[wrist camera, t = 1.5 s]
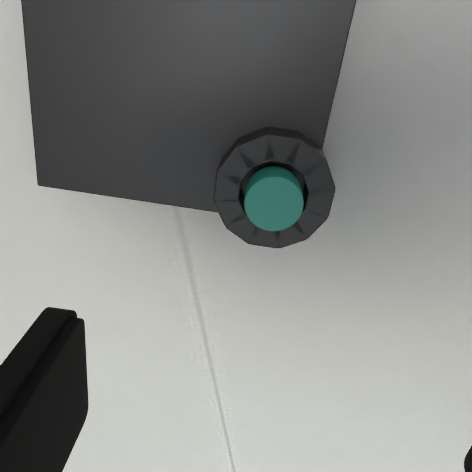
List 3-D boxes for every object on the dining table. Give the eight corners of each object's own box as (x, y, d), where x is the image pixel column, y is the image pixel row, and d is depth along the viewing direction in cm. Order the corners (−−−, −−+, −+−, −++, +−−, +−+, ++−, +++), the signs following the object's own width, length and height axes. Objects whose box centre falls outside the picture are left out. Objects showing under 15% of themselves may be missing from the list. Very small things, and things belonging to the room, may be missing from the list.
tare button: (306, 170, 19) (309, 181, 18) (295, 221, 20) (297, 235, 19) (250, 161, 19) (248, 172, 18) (242, 213, 20) (240, 227, 19)
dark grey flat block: (375, -41, 18) (399, -56, 15) (311, 225, 24) (319, 255, 20) (35, -92, 18) (-14, -117, 15) (55, 186, 24) (22, 211, 20)
